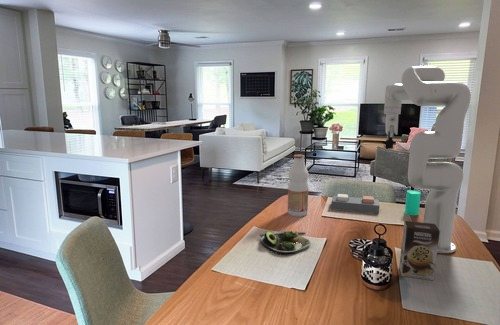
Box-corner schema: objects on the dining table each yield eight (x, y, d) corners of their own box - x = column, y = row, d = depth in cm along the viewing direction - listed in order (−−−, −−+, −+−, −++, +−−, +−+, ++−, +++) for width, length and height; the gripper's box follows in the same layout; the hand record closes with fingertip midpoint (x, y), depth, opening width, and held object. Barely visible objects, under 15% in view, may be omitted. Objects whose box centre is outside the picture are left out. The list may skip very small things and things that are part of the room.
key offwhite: (347, 201, 168) (348, 194, 168) (347, 204, 164) (347, 197, 163) (337, 200, 170) (337, 193, 169) (336, 203, 165) (337, 196, 165)
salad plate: (291, 230, 139) (292, 219, 138) (322, 246, 125) (323, 234, 124) (253, 241, 129) (253, 229, 128) (281, 259, 114) (281, 247, 114)
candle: (401, 212, 160) (404, 187, 157) (410, 210, 162) (413, 186, 160) (412, 216, 154) (415, 191, 152) (421, 214, 157) (424, 189, 155)
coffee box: (401, 276, 103) (406, 227, 100) (399, 266, 109) (403, 219, 106) (434, 281, 100) (440, 230, 97) (430, 270, 106) (435, 222, 103)
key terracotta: (373, 203, 165) (373, 196, 164) (373, 206, 160) (373, 199, 159) (362, 202, 166) (362, 195, 166) (362, 205, 162) (362, 198, 161)
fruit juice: (291, 217, 152) (292, 157, 147) (284, 211, 161) (285, 153, 156) (310, 216, 154) (312, 156, 149) (303, 209, 163) (304, 153, 158)
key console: (377, 207, 167) (378, 199, 166) (378, 213, 158) (379, 205, 157) (332, 202, 174) (333, 195, 173) (331, 208, 164) (331, 201, 163)
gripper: (402, 111, 154) (399, 151, 157) (399, 110, 168) (395, 146, 171) (385, 111, 156) (382, 150, 160) (383, 110, 170) (380, 145, 174)
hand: (389, 148), depth 165 cm, fingers closed
